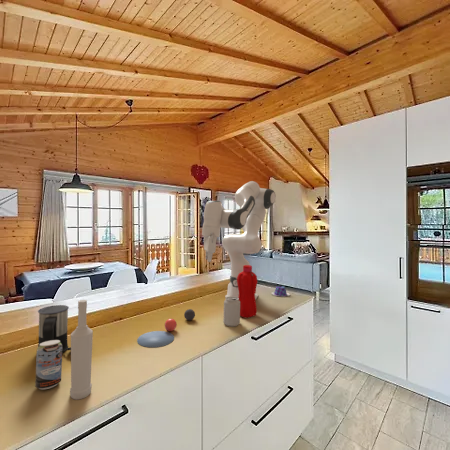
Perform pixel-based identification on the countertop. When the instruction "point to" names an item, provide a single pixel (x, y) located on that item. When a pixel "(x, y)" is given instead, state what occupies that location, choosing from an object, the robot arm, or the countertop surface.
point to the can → (231, 311)
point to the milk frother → (54, 325)
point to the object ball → (170, 324)
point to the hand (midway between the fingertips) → (208, 260)
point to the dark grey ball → (189, 314)
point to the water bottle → (247, 292)
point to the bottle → (81, 355)
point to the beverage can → (48, 364)
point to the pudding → (280, 291)
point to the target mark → (155, 339)
